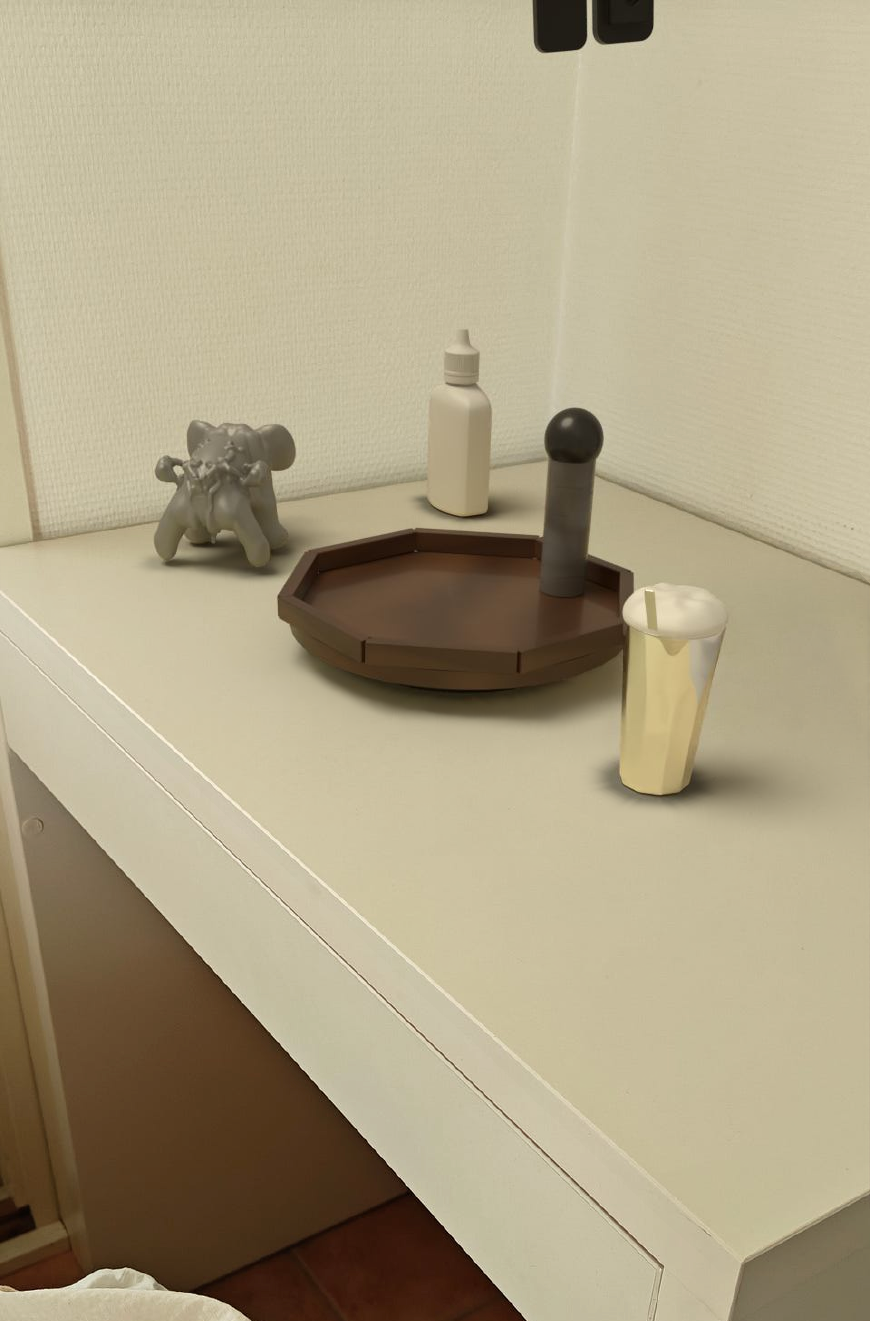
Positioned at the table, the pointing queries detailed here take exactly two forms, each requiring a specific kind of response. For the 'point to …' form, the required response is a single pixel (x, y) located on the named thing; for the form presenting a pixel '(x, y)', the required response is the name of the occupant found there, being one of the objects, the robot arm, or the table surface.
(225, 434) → the gray elephant figurine
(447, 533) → the tray
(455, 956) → the table surface
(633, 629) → the milkshake
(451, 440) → the eye dropper bottle
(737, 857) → the table surface
